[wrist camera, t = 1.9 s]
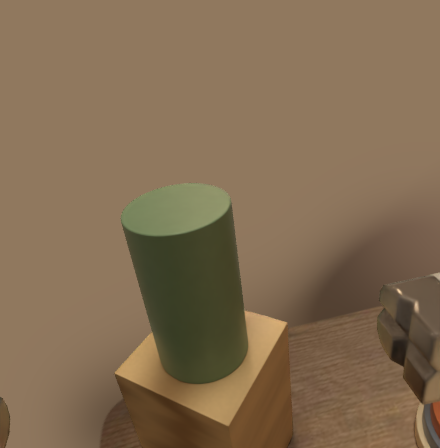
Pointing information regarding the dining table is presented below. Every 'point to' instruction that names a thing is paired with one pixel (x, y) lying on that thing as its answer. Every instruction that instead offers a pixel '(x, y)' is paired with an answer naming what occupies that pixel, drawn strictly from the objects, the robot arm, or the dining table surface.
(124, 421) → the dining table surface
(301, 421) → the dining table surface
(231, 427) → the block
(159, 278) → the green stacking piece
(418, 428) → the round push button
